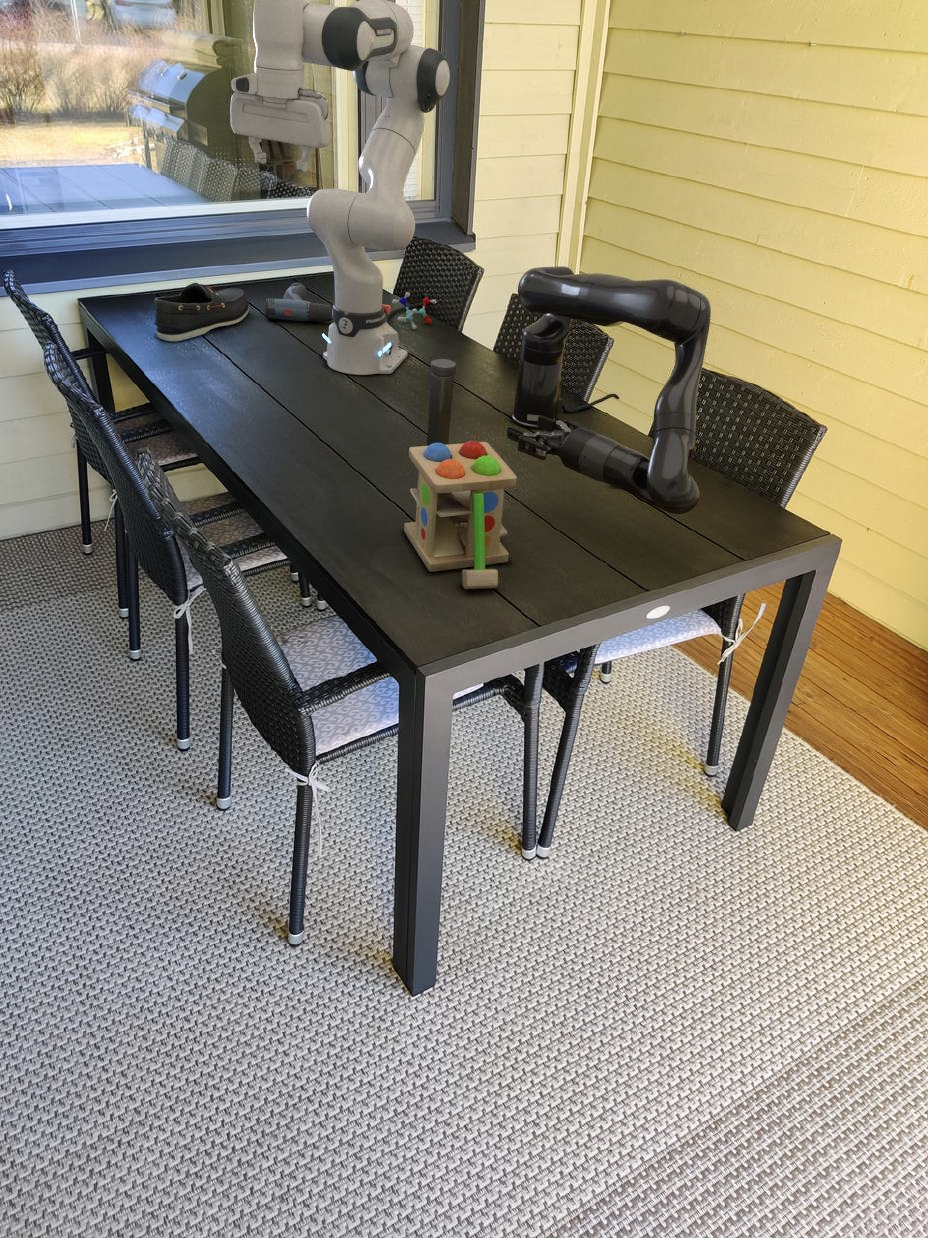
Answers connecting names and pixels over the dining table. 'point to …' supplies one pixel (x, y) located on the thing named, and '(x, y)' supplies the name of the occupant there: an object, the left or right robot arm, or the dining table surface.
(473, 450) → the pounding bench toy
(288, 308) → the power drill
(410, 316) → the molecular model
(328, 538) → the dining table surface
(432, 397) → the dark grey cylindrical bottle
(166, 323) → the boat shoe
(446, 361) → the lid
